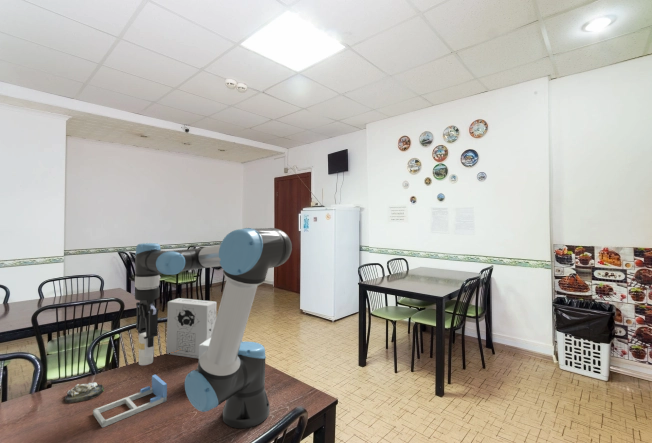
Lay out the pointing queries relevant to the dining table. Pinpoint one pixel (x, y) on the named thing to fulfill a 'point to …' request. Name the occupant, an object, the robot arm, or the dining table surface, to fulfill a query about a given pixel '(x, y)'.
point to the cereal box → (189, 325)
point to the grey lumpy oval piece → (84, 392)
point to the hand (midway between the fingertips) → (146, 353)
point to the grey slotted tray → (157, 388)
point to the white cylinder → (143, 351)
